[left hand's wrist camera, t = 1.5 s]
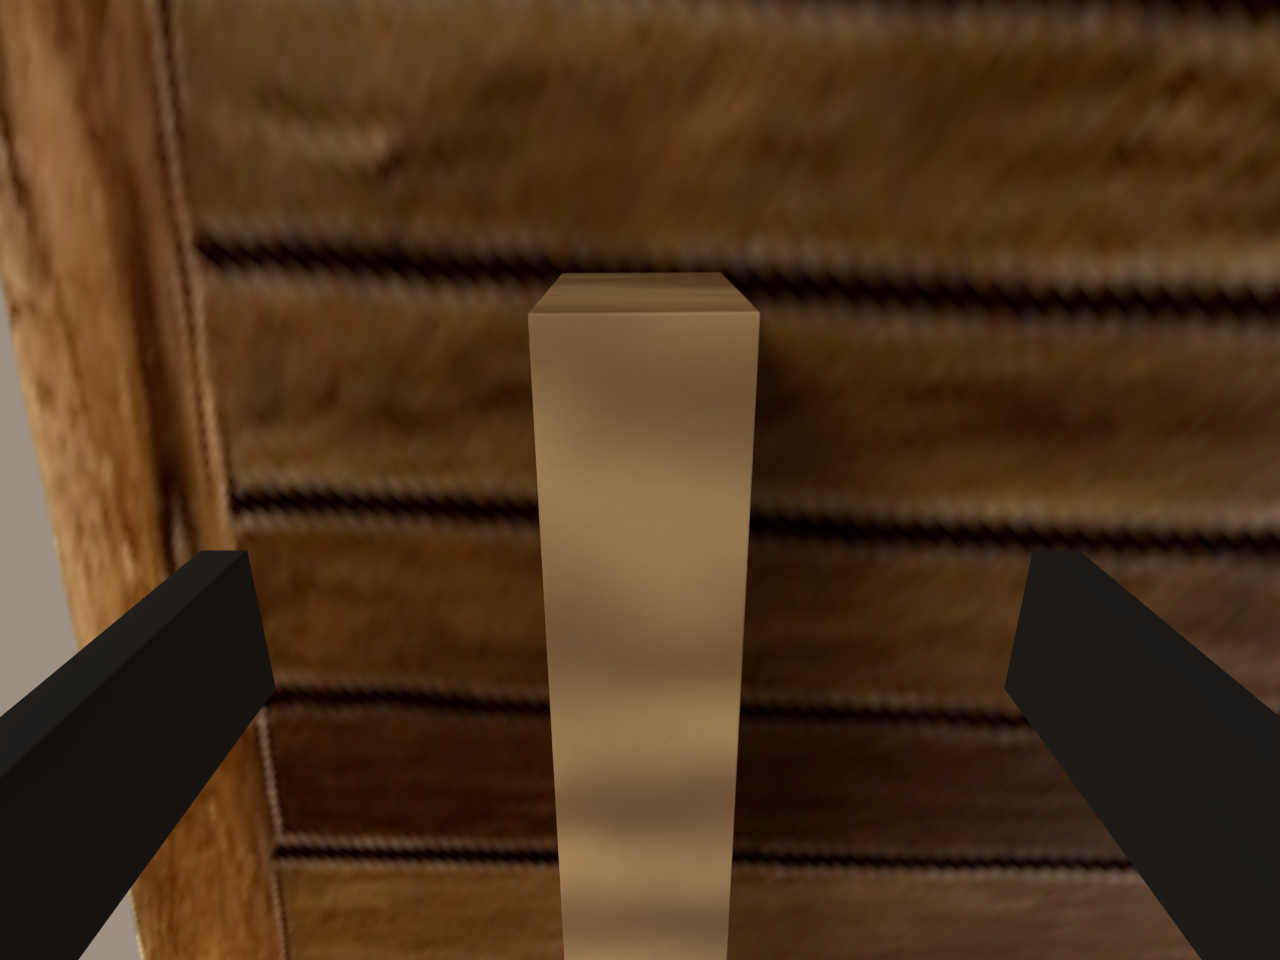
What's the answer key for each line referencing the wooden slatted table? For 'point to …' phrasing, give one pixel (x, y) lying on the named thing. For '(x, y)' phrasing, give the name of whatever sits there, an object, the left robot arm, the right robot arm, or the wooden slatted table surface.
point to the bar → (644, 598)
